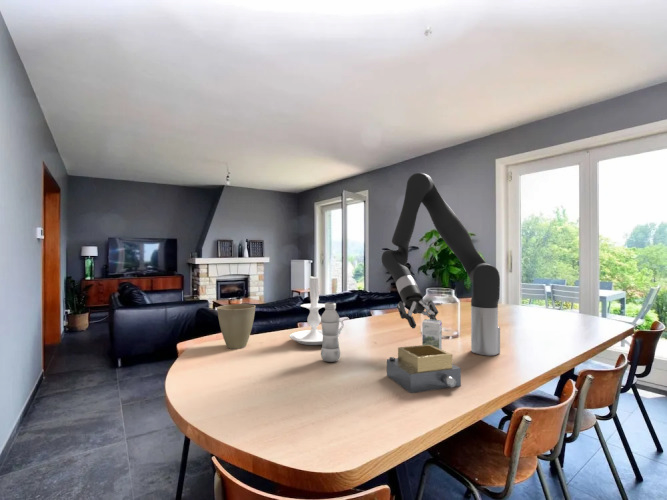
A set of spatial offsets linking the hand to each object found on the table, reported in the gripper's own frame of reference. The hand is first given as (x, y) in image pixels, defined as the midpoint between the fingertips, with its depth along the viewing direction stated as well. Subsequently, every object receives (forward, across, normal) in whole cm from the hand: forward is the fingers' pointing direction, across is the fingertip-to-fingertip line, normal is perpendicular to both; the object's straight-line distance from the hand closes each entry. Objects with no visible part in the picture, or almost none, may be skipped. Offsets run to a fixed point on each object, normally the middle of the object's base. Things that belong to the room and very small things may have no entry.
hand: (425, 326), depth 123 cm
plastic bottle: (+2, -32, +15) cm, 35 cm away
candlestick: (-16, -29, +33) cm, 47 cm away
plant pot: (-19, -62, +36) cm, 74 cm away
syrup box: (+11, 0, +6) cm, 13 cm away
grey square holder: (+21, -12, -5) cm, 25 cm away
